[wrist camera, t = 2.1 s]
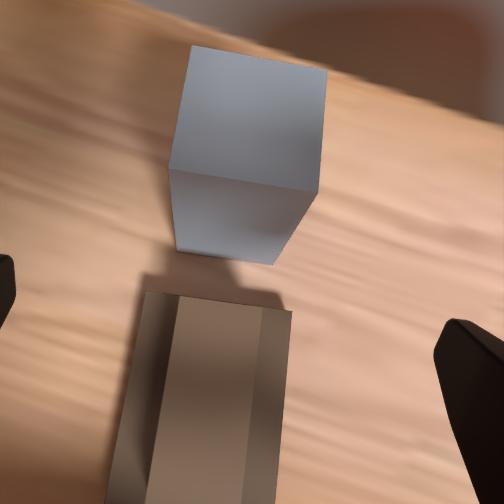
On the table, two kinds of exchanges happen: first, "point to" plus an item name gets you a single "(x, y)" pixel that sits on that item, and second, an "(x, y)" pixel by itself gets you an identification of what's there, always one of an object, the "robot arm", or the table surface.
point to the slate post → (245, 154)
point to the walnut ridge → (202, 404)
